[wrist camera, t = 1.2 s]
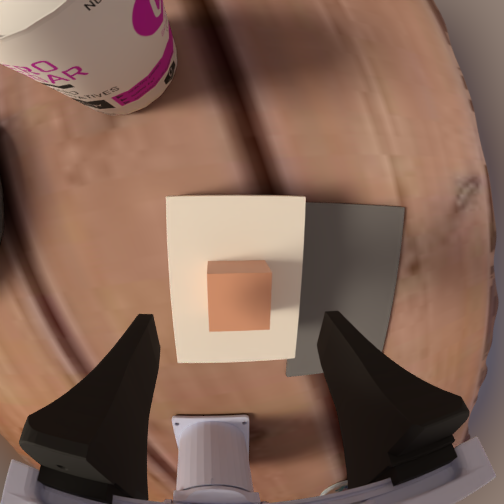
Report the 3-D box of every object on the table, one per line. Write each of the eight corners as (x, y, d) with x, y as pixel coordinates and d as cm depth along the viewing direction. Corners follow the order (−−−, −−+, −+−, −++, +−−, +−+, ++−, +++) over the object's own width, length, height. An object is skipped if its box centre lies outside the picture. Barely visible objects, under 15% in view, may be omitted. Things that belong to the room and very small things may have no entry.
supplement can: (175, 19, 18) (147, -110, 4) (181, 105, 20) (133, 0, 6) (84, 43, 17) (-8, -43, 3) (84, 128, 20) (-48, 89, 5)
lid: (289, 345, 22) (303, 378, 18) (180, 349, 21) (174, 384, 17) (297, 195, 20) (319, 199, 16) (170, 195, 19) (158, 199, 15)
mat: (376, 361, 28) (378, 363, 28) (285, 373, 27) (286, 376, 26) (401, 206, 24) (404, 207, 24) (296, 201, 23) (298, 202, 23)
